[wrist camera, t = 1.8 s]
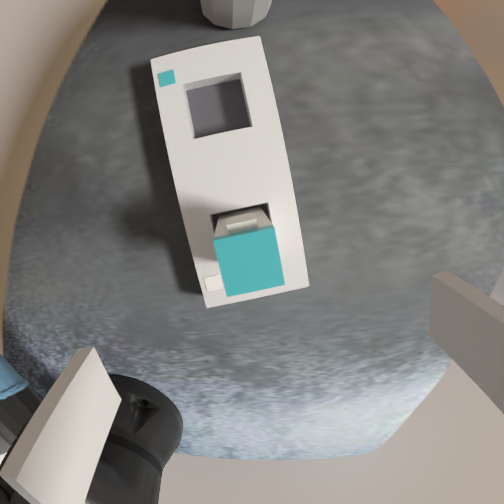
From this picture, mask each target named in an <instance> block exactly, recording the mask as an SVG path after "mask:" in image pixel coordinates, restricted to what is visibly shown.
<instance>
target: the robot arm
mask: <svg viewBox="0 0 504 504" xmlns="http://www.w3.org/2000/svg"><path fill="white" fill-rule="evenodd" d="M428 335H429V336H430V337H431V338H432V339H433V340H434V341H435V342H436V343H437V344H438V345H439V346H440V347H441V348H442V349H443V350H444V351H445V352H446V353H447V354H448V355H449V356H450V357H451V358H452V359H453V360H454V361H455V362H456V363H457V364H458V365H459V366H460V367H461V368H462V369H463V370H464V371H465V372H466V374H467V375H468V376H469V377H470V378H471V379H472V380H473V381H474V382H475V383H476V384H477V385H478V386H479V387H480V388H481V389H482V390H483V391H484V392H485V394H486V395H487V396H488V397H489V398H490V399H491V400H492V401H493V403H494V404H495V405H496V406H497V407H498V408H499V409H500V410H501V411H502V412H503V414H504V306H503V305H502V304H500V303H498V302H497V301H495V300H494V299H492V298H491V297H489V296H488V295H486V294H484V293H483V292H481V291H480V290H478V289H476V288H475V287H473V286H471V285H470V284H468V283H467V282H465V281H463V280H462V279H460V278H458V277H457V276H455V275H453V274H451V273H450V272H448V271H444V272H441V273H438V274H435V275H432V291H431V309H430V322H429V333H428ZM182 430H183V420H182V416H181V414H180V412H179V410H178V409H177V407H176V406H175V405H174V403H173V402H172V401H171V400H170V399H169V398H168V397H166V396H165V395H164V394H163V393H161V392H160V391H158V390H157V389H155V388H153V387H152V386H150V385H148V384H145V383H143V382H141V381H138V380H135V379H132V378H128V377H122V376H108V374H107V372H106V370H105V368H104V366H103V364H102V362H101V360H100V358H99V356H98V354H97V352H96V350H95V348H94V347H86V348H79V349H78V350H77V351H76V353H75V354H74V356H73V357H72V358H71V360H70V361H69V363H68V364H67V366H66V367H65V368H64V370H63V371H62V373H61V374H60V376H59V377H58V379H57V380H56V381H55V383H54V384H53V386H52V387H51V389H50V390H49V392H48V393H47V395H46V396H45V398H44V399H43V400H42V399H41V398H40V397H39V396H38V394H37V393H36V392H35V391H34V390H33V389H32V388H31V387H30V386H29V382H28V381H27V380H26V379H23V378H22V377H21V376H20V375H19V374H18V373H17V371H16V370H15V369H14V368H13V367H12V366H11V365H10V364H9V362H8V361H7V360H6V359H5V358H4V357H3V356H2V355H0V504H158V499H159V491H160V484H161V477H162V471H163V468H164V467H165V465H166V463H167V462H168V460H169V459H170V457H171V456H172V454H173V452H174V451H175V449H176V448H177V447H178V445H179V443H180V441H181V437H182Z"/></svg>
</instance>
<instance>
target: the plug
mask: <svg viewBox="0 0 504 504" xmlns="http://www.w3.org/2000/svg"><path fill="white" fill-rule="evenodd" d="M213 243H214V247H215V251H216V255H217V260H218V264H219V268H220V272H221V276H222V280H223V284H224V288H225V291H226V295H227V297H230V296H235V295H240V294H245V293H249V292H254V291H259V290H264V289H268V288H273V287H277V286H282V285H285V282H284V276H283V270H282V265H281V259H280V254H279V249H278V243H277V238H276V233H275V227H274V226H273V225H272V223H271V222H270V220H269V219H268V217H267V216H266V214H265V213H264V211H263V210H262V209H261V207H258V208H253V209H248V210H243V211H239V212H234V213H229V214H225V215H220V216H219V218H218V222H217V226H216V230H215V234H214V238H213Z"/></svg>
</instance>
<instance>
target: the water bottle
mask: <svg viewBox="0 0 504 504" xmlns="http://www.w3.org/2000/svg"><path fill="white" fill-rule="evenodd" d="M271 2H272V0H200V3H201V8H202V13H203V15H204V16H205V17H206V18H208V19H209V20H210V21H211V22H212V23H213V24H214V25H218V26H222V27H226V28H230V29H237V28H244V27H251V26H253V25H254V24H256V23H257V22H259V21H260V20H262V19H264V18H265V17H266V14H267V12H268V10H269V8H270V6H271Z"/></svg>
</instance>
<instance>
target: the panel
mask: <svg viewBox="0 0 504 504" xmlns="http://www.w3.org/2000/svg"><path fill="white" fill-rule="evenodd" d="M151 66H152V73H153V78H154V84H155V90H156V96H157V101H158V106H159V112H160V117H161V122H162V127H163V132H164V137H165V142H166V147H167V152H168V156H169V161H170V165H171V170H172V174H173V179H174V183H175V188H176V192H177V196H178V201H179V205H180V209H181V213H182V217H183V221H184V225H185V229H186V233H187V237H188V241H189V245H190V249H191V253H192V256H193V260H194V264H195V268H196V271H197V275H198V279H199V282H200V286H201V289H202V293H203V296H204V300H205V303H206V307H207V308H210V307H215V306H220V305H225V304H230V303H235V302H240V301H244V300H249V299H254V298H259V297H263V296H268V295H273V294H277V293H282V292H286V291H291V290H295V289H299V288H304V287H308V286H309V281H308V274H307V268H306V261H305V255H304V248H303V242H302V236H301V230H300V224H299V218H298V212H297V207H296V201H295V195H294V190H293V185H292V179H291V174H290V169H289V164H288V158H287V153H286V148H285V143H284V139H283V134H282V129H281V124H280V120H279V115H278V110H277V106H276V101H275V97H274V92H273V88H272V84H271V79H270V75H269V71H268V67H267V63H266V59H265V55H264V50H263V47H262V43H261V39H260V36H257V37H250V38H243V39H237V40H231V41H225V42H220V43H215V44H210V45H205V46H200V47H196V48H192V49H187V50H183V51H179V52H175V53H172V54H168V55H164V56H161V57H158V58H154V59H151ZM258 207H261V209H262V210H263V211H264V213H265V214H266V216H267V217H268V219H269V220H270V222H271V223H272V225H273V226H274V227H275V233H276V238H277V243H278V249H279V254H280V259H281V265H282V270H283V276H284V282H285V285H282V286H277V287H273V288H268V289H264V290H259V291H254V292H249V293H245V294H240V295H235V296H230V297H227V295H226V291H225V288H224V284H223V280H222V276H221V272H220V268H219V264H218V260H217V255H216V251H215V247H214V243H213V238H214V234H215V230H216V226H217V222H218V218H219V216H220V215H225V214H229V213H234V212H239V211H243V210H248V209H253V208H258Z"/></svg>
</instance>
